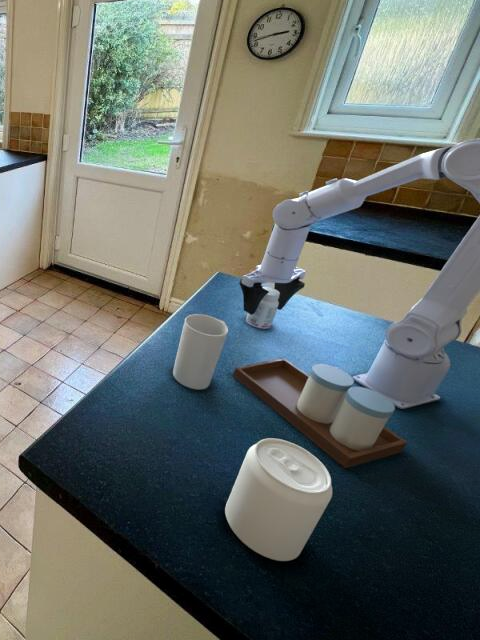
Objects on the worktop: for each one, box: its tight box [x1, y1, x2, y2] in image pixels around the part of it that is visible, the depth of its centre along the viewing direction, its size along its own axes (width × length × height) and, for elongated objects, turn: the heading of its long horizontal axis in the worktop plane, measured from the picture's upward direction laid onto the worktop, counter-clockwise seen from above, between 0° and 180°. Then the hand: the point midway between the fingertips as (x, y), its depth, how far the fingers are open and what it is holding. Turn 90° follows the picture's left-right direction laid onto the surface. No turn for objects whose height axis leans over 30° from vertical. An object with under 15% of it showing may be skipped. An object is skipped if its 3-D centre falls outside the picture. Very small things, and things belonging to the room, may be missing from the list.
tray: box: [232, 357, 408, 469], centre depth 70 cm, size 11×20×2 cm, turn 14°
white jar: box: [297, 363, 355, 423], centre depth 67 cm, size 5×5×8 cm
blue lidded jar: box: [330, 386, 396, 451], centre depth 62 cm, size 5×5×8 cm
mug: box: [172, 313, 229, 390], centre depth 75 cm, size 10×7×12 cm, turn 118°
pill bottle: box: [245, 286, 280, 330], centre depth 92 cm, size 5×5×8 cm
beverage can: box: [224, 437, 333, 562], centre depth 50 cm, size 8×8×12 cm
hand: (262, 309), depth 92 cm, fingers open, 7 cm apart
